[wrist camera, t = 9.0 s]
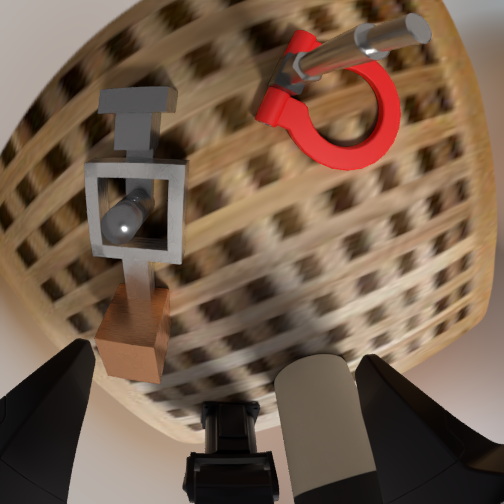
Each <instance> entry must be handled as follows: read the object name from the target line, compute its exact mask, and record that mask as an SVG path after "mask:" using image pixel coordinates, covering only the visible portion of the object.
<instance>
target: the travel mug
mask: <svg viewBox="0 0 504 504" xmlns="http://www.w3.org/2000/svg"><path fill="white" fill-rule="evenodd" d="M274 387H275V393H276V399H277V405H278V410H279V416H280V422H281V428H282V434H283V440H284V445H285V451H286V457H287V463H288V469H289V474H290V479H291V486H292V492H293V498H294V503H295V504H384V502H383V498H382V493H381V488H380V484H379V479H378V475H377V471H376V467H375V462H374V458H373V454H372V450H371V446H370V443H369V439H368V435H367V431H366V428H365V424H364V420H363V417H362V413H361V408H360V402H359V396H358V390H357V387H356V385H355V382H354V380H353V377H352V375H351V373H350V370H349V368H348V365H347V363H346V361H345V360H344V359H342V358H341V357H339V356H336V355H331V354H318V355H312V356H308V357H305V358H302V359H299V360H297V361H295V362H293V363H291V364H289V365H288V366H286V367H285V368H284V369H283V370H282V371H281V372H280V373H279V374H278V375H277V377H276V379H275V382H274Z"/></svg>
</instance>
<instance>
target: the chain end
mask: <svg viewBox="0 0 504 504" xmlns="http://www.w3.org/2000/svg"><path fill="white" fill-rule="evenodd" d="M84 166H85V189H86V203H87V214H88V224H89V232H90V240H91V247H92V254H93V256H99V257H108V258H118V259H122V260H123V269H124V277H125V284H120V285H119V287H118V289H117V291H116V293H115V295H114V297H113V299H112V301H111V303H110V306H109V308H108V310H107V312H106V314H105V316H104V318H103V320H102V323H101V325H100V327H99V329H98V332H97V334H96V336H95V338H94V339H95V342H96V344H97V347H98V350H99V353H100V356H101V358H102V361H103V364H104V366H105V369H106V372H107V374H108V376H113V377H119V378H124V379H130V380H136V381H142V382H149V383H156V384H160V383H161V377H162V372H163V366H164V360H165V355H166V350H167V344H168V339H169V334H170V329H171V318H170V301H169V289H165V288H155V279H154V263H153V262H161V263H172V264H182V260H183V257H184V253H185V225H186V203H187V185H188V171H189V160H179V159H157V158H94V159H92V160H90V161H88V162H86V163H84ZM107 177H109V178H144V179H165V180H169V188H168V239H159V238H146V237H134V236H133V238H132V239H131V240H130V241H129V242H128V243H126V244H122V245H118V244H114V243H112V242H110V241H109V240H107V239H106V237H105V236H104V234H103V232H102V229H101V221H102V218H103V216H104V215H105V214H106V213H107V212H108V211H109V206H108V183H107Z"/></svg>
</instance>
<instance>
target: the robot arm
mask: <svg viewBox="0 0 504 504" xmlns="http://www.w3.org/2000/svg"><path fill="white" fill-rule="evenodd" d="M94 367H95V356H94V353H93V350H92V347H91V344H90V342H89V341H88V340H85V339H81V338H78V339H76V340H74V341H73V342H72V343H70V344H69V345H68V346H66V347H65V348H64V349H62V350H61V351H60V352H59V353H57V354H56V355H55V356H53V357H52V358H51V359H50V360H48V361H47V362H46V363H44V364H43V365H42V366H41V367H39V368H38V369H37V370H36V371H35V372H33V373H32V374H31V375H29V376H28V377H27V378H26V379H24V380H23V381H22V382H21V383H19V384H18V385H17V386H16V387H15V388H13V389H12V390H11V391H10V392H9V393H7V394H6V396H4V397H2V398H1V399H0V504H67V498H68V491H69V485H70V479H71V473H72V468H73V462H74V458H75V453H76V448H77V444H78V440H79V435H80V431H81V427H82V423H83V419H84V416H85V412H86V408H87V404H88V400H89V394H90V388H91V383H92V378H93V372H94ZM355 379H356V384H357V390H358V396H359V402H360V408H361V413H362V417H363V420H364V424H365V428H366V431H367V435H368V439H369V443H370V446H371V450H372V454H373V458H374V462H375V467H376V471H377V475H378V479H379V484H380V488H381V493H382V498H383V502H384V504H504V444H498V443H495V442H492V441H490V440H489V439H487V438H486V437H484V436H482V435H481V434H479V433H477V432H476V431H474V430H473V429H471V428H470V427H468V426H467V425H465V424H464V423H462V422H461V421H460V420H458V419H457V418H456V417H454V416H453V415H452V414H451V413H449V412H448V411H447V410H445V409H444V408H443V407H442V406H440V405H439V404H438V403H437V402H435V401H434V400H433V399H432V398H430V397H429V396H428V395H426V394H425V393H424V392H423V391H421V390H420V389H419V388H418V387H416V386H415V385H414V384H413V383H411V382H410V381H409V380H408V379H406V378H405V377H404V376H403V375H401V374H400V373H399V372H397V371H396V370H395V369H394V368H392V367H391V366H390V365H389V364H387V363H386V362H385V361H384V360H382V359H381V358H380V357H379V356H377V355H376V354H368V355H364V356H363V358H362V360H361V361H360V363H359V365H358V367H357V369H356V371H355ZM259 410H260V405H259V404H256V403H216V402H203V403H202V428H203V429H205V453H196V452H191V454H190V456H189V457H187V465H186V473H185V477H184V482H183V490H184V491H185V492H186V493H187V496H188V498H189V501H190V503H195V504H274V501H278V500H279V484H278V478H277V474H276V469H275V465H274V460H273V455H272V451H267V452H260V453H257V446H256V437H255V428H254V426H255V423H256V419H257V416H258V413H259Z"/></svg>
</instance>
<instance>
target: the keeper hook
mask: <svg viewBox="0 0 504 504" xmlns="http://www.w3.org/2000/svg"><path fill="white" fill-rule="evenodd" d="M177 95H178V91H176V90H174V89H172V88H170V87H130V88H115V89H104V90H100V97H99V107H98V114H116V119H115V135H114V150H127V153H126V158H155V148H156V147H159V133H160V122H161V113H175V112H176V103H177ZM153 191H154V179H144V178H126V196H125V197H124V198H123V199H122V200H120V201H119V202H118V203H117V204H116V205H115V206H113V207H112V208H111V209H110V210H109V211H108V212H107V213H106V214H105V215H104V216H103V218H102V221H101V229H102V232H103V234H104V236H105V237H106V239H107V240H109V241H110V242H112V243H114V244H118V245H122V244H126V243H128V242H129V241H130V240H131V239H132V238H133V236H134V235H135V233H136V232H137V231H138V229H139V228H140V227H141V225H142V224H143V223H144V221H145V220H146V219H147V217H148V216H149V215H150V213H151V212H152V211H153V209H154V205H155V201H154V197H153Z"/></svg>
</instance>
